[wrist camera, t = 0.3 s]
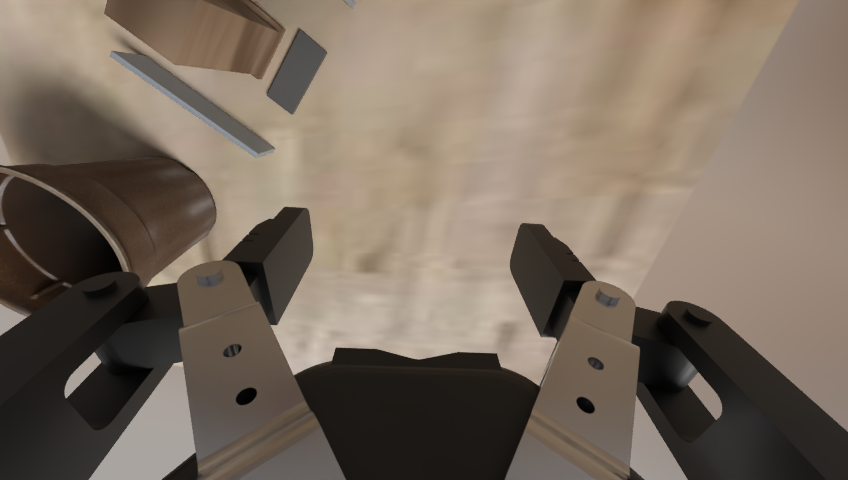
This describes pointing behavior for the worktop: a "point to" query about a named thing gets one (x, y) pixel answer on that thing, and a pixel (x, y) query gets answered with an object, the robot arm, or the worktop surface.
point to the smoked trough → (283, 91)
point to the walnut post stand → (203, 32)
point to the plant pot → (94, 224)
